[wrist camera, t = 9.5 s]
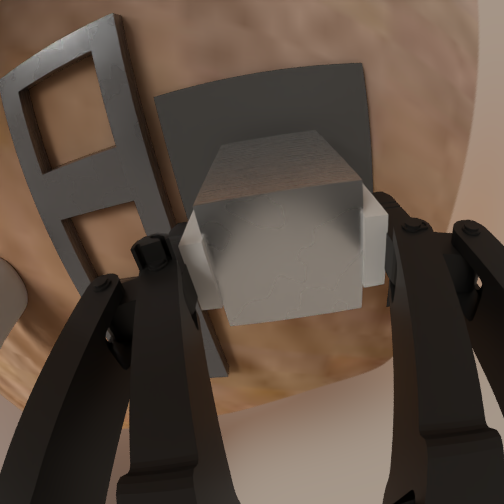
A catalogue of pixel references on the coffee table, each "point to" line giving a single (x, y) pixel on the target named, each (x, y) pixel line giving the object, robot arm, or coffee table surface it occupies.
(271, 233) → the grey rectangular block
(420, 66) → the coffee table surface
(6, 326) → the cup
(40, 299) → the coffee table surface
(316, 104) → the rubber mat
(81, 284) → the rail
